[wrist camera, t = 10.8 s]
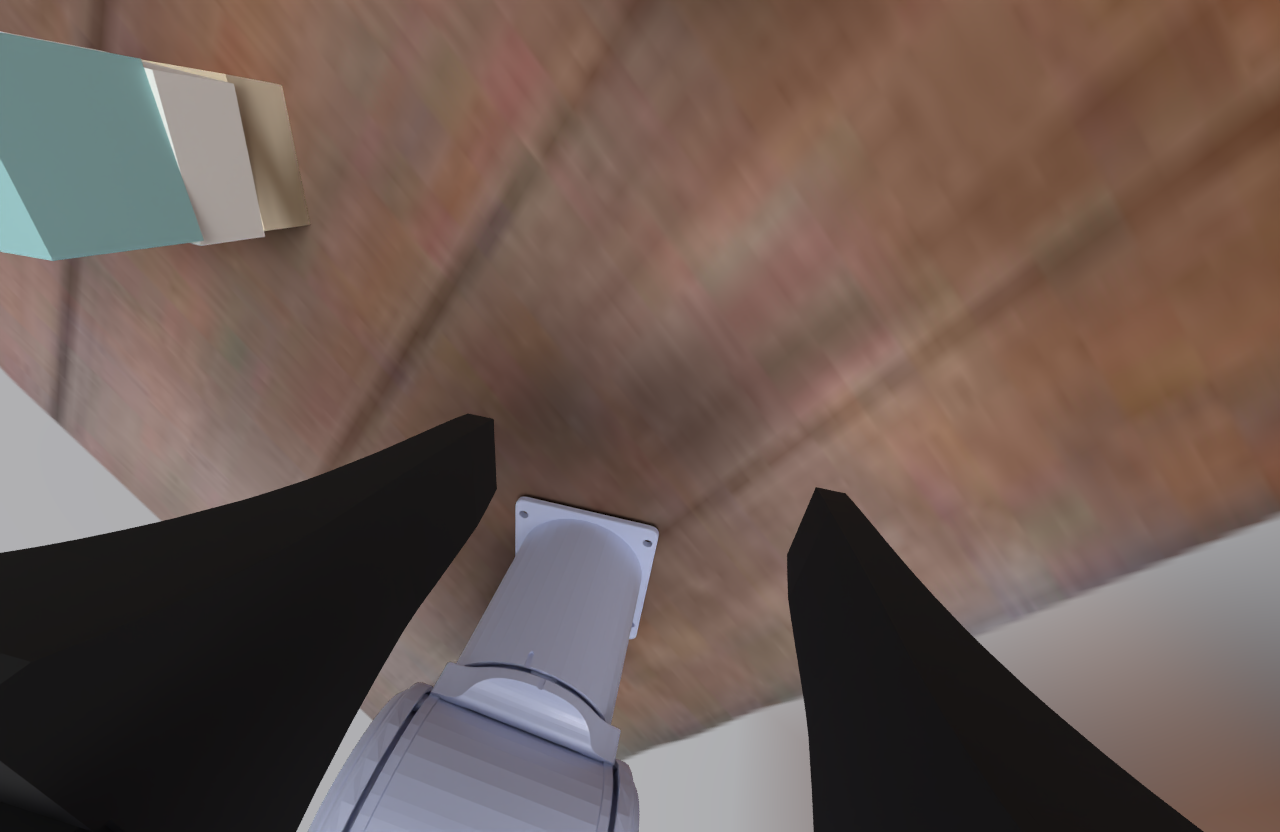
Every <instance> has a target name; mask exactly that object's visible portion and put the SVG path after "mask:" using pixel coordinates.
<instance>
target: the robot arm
mask: <svg viewBox="0 0 1280 832" xmlns="http://www.w3.org/2000/svg"><path fill="white" fill-rule="evenodd" d="M496 489H497V485H496V463H495V442H494V420H493V419H491V418H486V417H482V416H477V415H472V414H466V415H463V416H460V417H458V418H455V419H453V420H450V421H448V422H446V423H443V424H441V425H439V426H436V427H434V428H432V429H430V430H427V431H425V432H423V433H421V434H418V435H416V436H414V437H411V438H409V439H407V440H405V441H402V442H400V443H398V444H395V445H393V446H391V447H389V448H386V449H384V450H382V451H379V452H377V453H375V454H372V455H370V456H367V457H365V458H362V459H359V460H357V461H354V462H352V463H349V464H347V465H344V466H342V467H339V468H337V469H334V470H332V471H329V472H327V473H324V474H321V475H319V476H316V477H313V478H310V479H308V480H305V481H302V482H299V483H296V484H293V485H290V486H287V487H284V488H281V489H277V490H274V491H271V492H268V493H265V494H262V495H259V496H255V497H252V498H249V499H245V500H242V501H238V502H234V503H230V504H227V505H223V506H219V507H215V508H211V509H208V510H204V511H200V512H196V513H193V514H189V515H185V516H181V517H178V518H174V519H170V520H165V521H161V522H157V523H152V524H148V525H144V526H139V527H135V528H130V529H126V530H121V531H116V532H112V533H107V534H102V535H97V536H92V537H88V538H83V539H77V540H73V541H67V542H62V543H57V544H51V545H46V546H40V547H35V548H28V549H22V550H16V551H10V552H4V553H0V832H296V831H297V829H298V827H299V825H300V823H301V820H302V818H303V816H304V814H305V812H306V810H307V808H308V806H309V804H310V802H311V800H312V798H313V796H314V794H315V792H316V789H317V788H318V786H319V784H320V782H321V780H322V778H323V776H324V774H325V772H326V770H327V769H328V766H329V765H330V763H331V761H332V759H333V757H334V755H335V753H336V751H337V749H338V747H339V745H340V743H341V742H342V740H343V738H344V736H345V734H346V732H347V730H348V728H349V726H350V724H351V723H352V721H353V719H354V717H355V715H356V714H357V712H358V710H359V708H360V706H361V704H362V703H363V701H364V699H365V697H366V695H367V694H368V692H369V690H370V688H371V686H372V685H373V683H374V681H375V679H376V677H377V676H378V674H379V672H380V670H381V669H382V667H383V665H384V663H385V662H386V660H387V658H388V657H389V655H390V653H391V651H392V650H393V648H394V646H395V645H396V643H397V641H398V639H399V638H400V636H401V634H402V633H403V631H404V629H405V628H406V626H407V625H408V623H409V622H410V620H411V619H412V617H413V616H414V614H415V613H416V611H417V610H418V608H419V607H420V605H421V604H422V603H423V601H424V600H425V598H426V597H427V596H428V594H429V593H430V592H431V590H432V589H433V587H434V586H435V585H436V583H437V582H438V580H439V579H440V578H441V576H442V575H443V573H444V572H445V571H446V569H447V568H448V567H449V565H450V564H451V562H452V561H453V560H454V558H455V557H456V555H457V554H458V553H459V551H460V550H461V548H462V547H463V546H464V544H465V543H466V541H467V540H468V538H469V537H470V536H471V534H472V533H473V531H474V530H475V528H476V527H477V525H478V524H479V522H480V520H481V518H482V516H483V514H484V513H485V511H486V509H487V507H488V505H489V503H490V501H491V499H492V497H493V495H494V493H495V491H496ZM523 511H525V512H527V513H524V512H523ZM658 536H659V531H658V530H657V529H656V528H655V527H653V526H651V525H646V524H642V523H638V522H633V521H629V520H625V519H620V518H616V517H612V516H608V515H603V514H599V513H595V512H590V511H586V510H582V509H577V508H573V507H569V506H564V505H560V504H556V503H552V502H547V501H543V500H539V499H534V498H530V497H524V496H523V497H520V498H519V499H518V501H517V502H516V509H515V558H514V560H513V562H512V563H511V565H510V567H509V569H508V571H507V572H506V574H505V576H504V578H503V580H502V582H501V583H500V585H499V587H498V589H497V591H496V592H495V594H494V596H493V598H492V600H491V601H490V603H489V605H488V607H487V609H486V610H485V612H484V614H483V616H482V618H481V620H480V621H479V623H478V625H477V627H476V629H475V630H474V632H473V634H472V636H471V638H470V639H469V641H468V643H467V645H466V647H465V649H464V650H463V652H462V654H461V656H460V658H459V659H458V661H457V663H453V662H448V663H447V665H446V666H445V668H444V670H443V672H442V673H441V675H440V677H439V679H438V680H437V682H436V684H435V686H434V687H433V686H431V685H428V684H426V683H423V682H418V683H416V684H414V685H412V686H411V687H410V688H409V689H406V690H404V691H402V692H400V693H398V694H396V695H395V696H394V697H392V698H391V699H390V700H389V701H388V702H387V704H386V705H385V706H384V707H383V708H382V709H381V711H380V712H379V713H378V714H377V716H376V717H375V718H374V720H373V721H372V723H371V724H370V725H369V727H368V728H367V730H366V732H365V733H364V734H363V736H362V737H361V739H360V740H359V742H358V743H357V745H356V746H355V748H354V749H353V751H352V752H351V754H350V756H349V757H348V759H347V761H346V762H345V764H344V765H343V767H342V769H341V771H340V772H339V774H338V776H337V777H336V779H335V781H334V782H333V784H332V786H331V788H330V789H329V791H328V793H327V795H326V797H325V799H324V800H323V802H322V804H321V806H320V808H319V810H318V812H317V814H316V816H315V818H314V820H313V822H312V824H311V826H310V828H309V830H308V832H639V799H638V793H637V790H636V787H635V784H634V782H633V777H632V772H631V770H630V768H629V765H627V764H626V763H625V762H623V761H621V760H618V759H616V752H617V747H618V742H619V737H620V732H621V731H620V729H619V728H617V727H614V726H612V725H611V721H612V716H613V712H614V707H615V702H616V698H617V693H618V688H619V684H620V679H621V674H622V669H623V665H624V660H625V655H626V651H627V646H628V641H629V639H633V638H635V637H636V635H637V630H638V626H639V621H640V617H641V613H642V608H643V604H644V599H645V595H646V590H647V586H648V581H649V577H650V572H651V568H652V563H653V559H654V555H655V550H656V546H657V541H658ZM645 540H649V541H651V542H647V541H645ZM787 575H788V600H789V607H790V614H791V621H792V627H793V634H794V640H795V647H796V653H797V659H798V666H799V672H800V678H801V684H802V691H803V697H804V703H805V710H806V718H807V727H808V736H809V751H810V766H811V782H812V802H813V825H814V832H1203V831H1202V830H1201V829H1199V828H1198V827H1197V826H1195V825H1194V824H1192V822H1190V821H1189V820H1188V819H1186V818H1185V817H1184V816H1182V815H1181V814H1180V813H1178V812H1177V811H1176V810H1175V809H1173V808H1172V807H1171V806H1169V805H1168V804H1167V803H1165V802H1164V801H1163V800H1162V799H1160V798H1159V797H1158V796H1156V795H1155V794H1154V793H1152V792H1151V791H1150V790H1149V789H1147V788H1146V787H1145V786H1144V785H1142V784H1141V783H1140V782H1139V781H1137V780H1136V779H1135V778H1134V777H1132V776H1131V775H1130V774H1129V773H1127V772H1126V771H1125V770H1123V769H1122V768H1121V767H1120V766H1119V765H1117V764H1116V763H1115V762H1114V761H1112V760H1111V759H1110V758H1108V757H1107V756H1106V755H1105V754H1104V753H1102V752H1101V751H1100V750H1099V749H1098V748H1097V747H1095V746H1094V745H1093V744H1092V743H1091V742H1089V741H1088V740H1087V739H1086V738H1085V737H1084V736H1082V735H1081V734H1080V733H1079V732H1078V731H1076V730H1075V729H1074V728H1073V727H1072V726H1070V725H1069V724H1068V723H1067V722H1066V721H1065V720H1063V719H1062V718H1061V717H1060V716H1059V715H1058V714H1056V713H1055V712H1054V711H1053V710H1052V709H1050V708H1049V707H1048V706H1047V705H1046V704H1045V703H1044V702H1042V701H1041V700H1040V699H1039V698H1038V697H1037V696H1036V695H1035V694H1034V693H1032V692H1031V691H1030V690H1029V689H1028V688H1027V687H1026V686H1024V685H1023V684H1022V683H1021V682H1020V681H1019V680H1018V679H1017V678H1016V677H1015V676H1014V675H1013V674H1012V673H1011V672H1009V670H1007V669H1006V668H1005V667H1004V666H1003V665H1002V664H1001V663H1000V662H999V661H998V660H997V659H996V658H995V657H994V656H993V655H991V654H990V653H989V652H988V651H987V650H986V649H985V648H984V647H983V646H982V645H981V644H980V643H979V642H978V641H977V640H976V639H975V638H974V637H973V636H972V635H971V634H970V633H969V632H968V631H967V630H966V629H965V628H964V627H963V626H962V625H961V624H960V623H959V622H958V621H957V620H956V619H955V618H954V617H953V616H952V615H951V613H950V612H949V611H948V610H947V609H946V608H945V607H944V606H943V605H942V604H941V603H940V602H939V601H938V600H937V599H936V598H935V597H934V596H933V594H932V593H931V592H930V591H929V590H928V589H927V588H926V587H925V586H924V585H923V583H922V582H921V581H920V580H919V579H918V578H917V577H916V576H915V574H914V573H913V572H912V571H911V570H910V569H909V568H908V566H907V565H906V564H905V563H904V562H903V561H902V560H901V558H900V557H899V556H898V555H897V554H896V552H895V551H894V550H893V549H892V548H891V547H890V545H889V544H888V543H887V542H886V541H885V539H884V538H883V537H882V536H881V535H880V533H879V532H878V531H877V530H876V529H875V527H874V526H873V525H872V524H871V523H870V521H869V520H868V519H867V518H866V517H865V515H864V514H863V513H862V512H861V511H860V509H859V508H858V507H857V506H856V505H855V504H854V502H853V501H852V500H851V499H850V498H849V497H848V496H847V495H846V494H845V493H841V492H836V491H831V490H827V489H822V488H817V487H816V488H815V491H814V493H813V495H812V498H811V500H810V502H809V505H808V507H807V509H806V512H805V514H804V516H803V519H802V521H801V523H800V526H799V528H798V531H797V533H796V535H795V538H794V540H793V542H792V545H791V547H790V549H789V552H788V554H787Z"/></svg>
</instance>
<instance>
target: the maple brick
mask: <svg viewBox="0 0 1280 832" xmlns="http://www.w3.org/2000/svg"><path fill="white" fill-rule="evenodd" d="M141 61H144V62H148V63H152V64H156V65H160V66H165V67H169V68H173V69H177V70H181V71H185V72H189V73H193V74H197V75H201V76H205V77H209V78H213V79H217V80H221V81H225V82H229V83H233V84H234V87H235V92H236V96H237V101H238V106H239V111H240V116H241V121H242V126H243V131H244V136H245V141H246V145H247V150H248V155H249V160H250V165H251V170H252V175H253V180H254V185H255V190H256V194H257V199H258V204H259V209H260V214H261V219H262V224H263V229H264V231H268V230H276V229H284V228H291V227H299V226H306V225H310V221H309V216H308V211H307V206H306V201H305V196H304V191H303V186H302V181H301V177H300V172H299V167H298V162H297V157H296V152H295V147H294V142H293V137H292V133H291V128H290V123H289V118H288V113H287V108H286V103H285V98H284V93H283V88H282V85H280V84H274V83H269V82H264V81H259V80H253V79H248V78H243V77H238V76H232V75H227V74H221V73H216V72H210V71H204V70H198V69H192V68H187V67H181V66H175V65H169V64H163V63H158V62H152V61H146V60H141Z"/></svg>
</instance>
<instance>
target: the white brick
mask: <svg viewBox="0 0 1280 832" xmlns="http://www.w3.org/2000/svg"><path fill="white" fill-rule="evenodd" d="M2 33H5V32H2ZM7 34H10V33H7ZM12 35H16V34H12ZM18 36H21V35H18ZM23 37H26V36H23ZM28 38H32V37H28ZM33 39H37V38H33ZM39 40H42V39H39ZM44 41H47V40H44ZM49 42H53V41H49ZM54 43H58V42H54ZM60 44H63V43H60ZM65 45H68V44H65ZM70 46H74V45H70ZM75 47H79V46H75ZM81 48H84V47H81ZM86 49H90V48H86ZM91 50H95V49H91ZM96 51H100V50H96ZM102 52H104V51H102ZM107 53H108V52H107ZM142 64H143V67H144V69H145V72H146V75H147V78H148V81H149V84H150V87H151V90H152V92H153V95H154V98H155V101H156V104H157V107H158V110H159V113H160V115H161V118H162V121H163V124H164V127H165V130H166V133H167V136H168V139H169V141H170V144H171V147H172V150H173V153H174V156H175V159H176V162H177V164H178V167H179V170H180V173H181V176H182V179H183V182H184V185H185V187H186V190H187V193H188V196H189V199H190V202H191V205H192V208H193V210H194V213H195V216H196V219H197V222H198V225H199V228H200V231H201V233H202V236H203V239H204V241H198V242H191V243H192V244H196V245H199V246H204V245H211V244H218V243H225V242H232V241H239V240H246V239H253V238H260V237H265V234H264V229H263V224H262V219H261V214H260V209H259V204H258V199H257V194H256V190H255V185H254V180H253V175H252V170H251V165H250V160H249V155H248V150H247V145H246V141H245V136H244V131H243V126H242V121H241V116H240V111H239V106H238V101H237V96H236V92H235V87H234V84H233V83H229V82H225V81H221V80H217V79H213V78H209V77H205V76H201V75H197V74H193V73H189V72H185V71H181V70H177V69H173V68H169V67H165V66H160V65H156V64H152V63H148V62H144V61H142Z"/></svg>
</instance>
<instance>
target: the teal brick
mask: <svg viewBox="0 0 1280 832" xmlns="http://www.w3.org/2000/svg"><path fill="white" fill-rule="evenodd" d="M198 241H204V239H203V236H202V233H201V231H200V228H199V225H198V222H197V219H196V216H195V213H194V210H193V208H192V205H191V202H190V199H189V196H188V193H187V190H186V187H185V185H184V182H183V179H182V176H181V173H180V170H179V167H178V164H177V162H176V159H175V156H174V153H173V150H172V147H171V144H170V141H169V139H168V136H167V133H166V130H165V127H164V124H163V121H162V118H161V115H160V113H159V110H158V107H157V104H156V101H155V98H154V95H153V92H152V90H151V87H150V84H149V81H148V78H147V75H146V72H145V69H144V67H143V64H142V61H141V59H139V58H133V57H128V56H123V55H118V54H112V53H107V52H102V51H96V50H91V49H86V48H81V47H75V46H70V45H65V44H60V43H54V42H49V41H44V40H39V39H33V38H28V37H23V36H18V35H12V34H7V33H2V32H0V252H5V253H11V254H17V255H23V256H28V257H34V258H40V259H46V260H51V261H55V260H63V259H70V258H78V257H85V256H93V255H100V254H108V253H115V252H123V251H130V250H138V249H146V248H153V247H161V246H168V245H176V244H183V243H191V242H198Z"/></svg>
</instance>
